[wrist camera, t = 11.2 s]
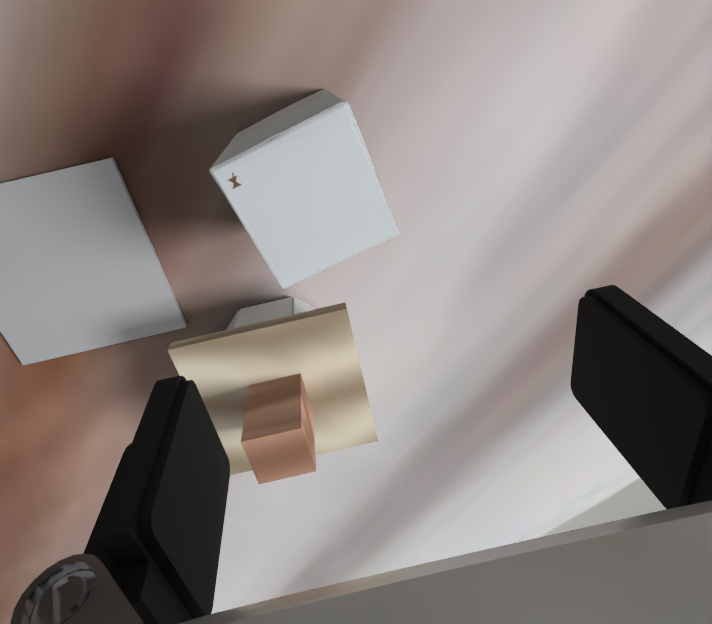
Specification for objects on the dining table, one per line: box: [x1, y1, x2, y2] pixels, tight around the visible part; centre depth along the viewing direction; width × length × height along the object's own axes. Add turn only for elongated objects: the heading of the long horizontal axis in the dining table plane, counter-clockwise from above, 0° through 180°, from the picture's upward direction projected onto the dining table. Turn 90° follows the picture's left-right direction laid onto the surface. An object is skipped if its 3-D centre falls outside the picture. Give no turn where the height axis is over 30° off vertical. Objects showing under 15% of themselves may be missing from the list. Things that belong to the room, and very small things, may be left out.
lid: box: [168, 303, 378, 484], centre depth 34 cm, size 13×13×7 cm
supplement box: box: [209, 89, 400, 289], centre depth 28 cm, size 7×7×13 cm
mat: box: [0, 157, 187, 365], centre depth 36 cm, size 14×14×1 cm
